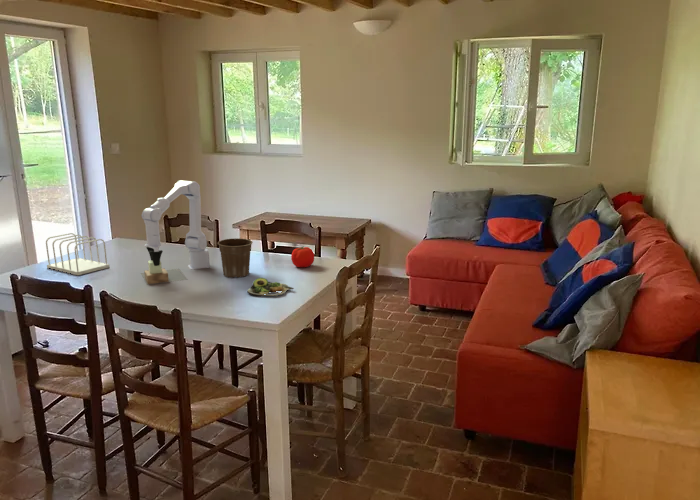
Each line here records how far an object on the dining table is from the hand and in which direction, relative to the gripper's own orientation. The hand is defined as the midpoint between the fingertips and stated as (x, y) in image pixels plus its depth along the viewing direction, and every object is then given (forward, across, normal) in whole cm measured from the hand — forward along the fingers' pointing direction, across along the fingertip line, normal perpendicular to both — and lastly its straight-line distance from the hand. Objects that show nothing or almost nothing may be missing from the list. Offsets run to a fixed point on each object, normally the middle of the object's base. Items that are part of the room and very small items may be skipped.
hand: (155, 263), depth 254 cm
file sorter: (+9, -40, -31) cm, 51 cm away
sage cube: (+4, 0, 0) cm, 4 cm away
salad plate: (+9, +36, +41) cm, 55 cm away
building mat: (+8, -5, +4) cm, 10 cm away
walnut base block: (+8, 0, 0) cm, 8 cm away
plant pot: (+9, +6, +36) cm, 37 cm away
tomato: (+9, +7, +70) cm, 71 cm away
